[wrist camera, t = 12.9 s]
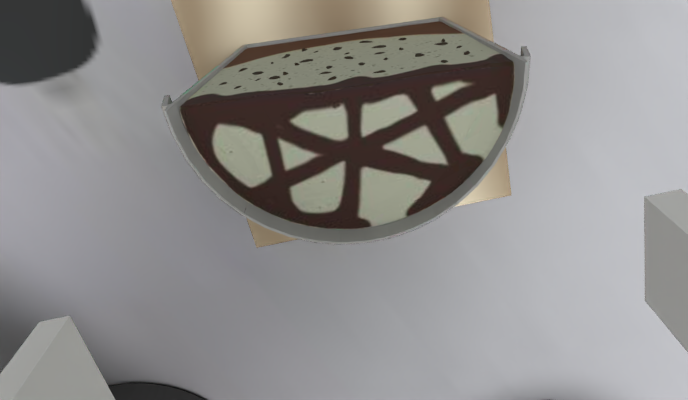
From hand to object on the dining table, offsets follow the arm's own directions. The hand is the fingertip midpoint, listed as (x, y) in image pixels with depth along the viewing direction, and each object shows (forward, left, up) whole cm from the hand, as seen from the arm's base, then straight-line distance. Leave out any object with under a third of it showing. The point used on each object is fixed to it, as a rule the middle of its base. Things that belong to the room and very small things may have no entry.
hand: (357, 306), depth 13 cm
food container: (0, 0, -17) cm, 17 cm away
